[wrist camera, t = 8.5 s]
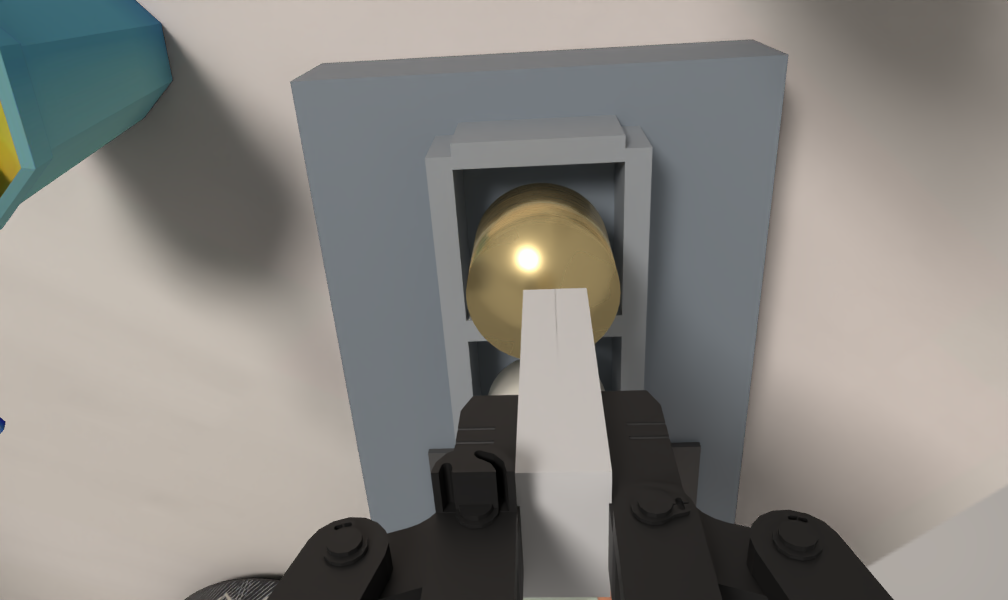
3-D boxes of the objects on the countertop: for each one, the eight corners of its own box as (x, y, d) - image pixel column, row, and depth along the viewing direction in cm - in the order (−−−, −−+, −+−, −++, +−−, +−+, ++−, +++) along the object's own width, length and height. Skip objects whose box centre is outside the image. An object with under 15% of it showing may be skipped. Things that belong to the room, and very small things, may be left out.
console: (408, 591, 39) (386, 709, 33) (322, 63, 27) (261, 98, 21) (701, 587, 38) (734, 708, 32) (752, 39, 26) (820, 68, 20)
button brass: (479, 308, 24) (471, 364, 20) (469, 186, 22) (459, 226, 19) (607, 303, 23) (619, 359, 20) (608, 179, 21) (622, 219, 18)
